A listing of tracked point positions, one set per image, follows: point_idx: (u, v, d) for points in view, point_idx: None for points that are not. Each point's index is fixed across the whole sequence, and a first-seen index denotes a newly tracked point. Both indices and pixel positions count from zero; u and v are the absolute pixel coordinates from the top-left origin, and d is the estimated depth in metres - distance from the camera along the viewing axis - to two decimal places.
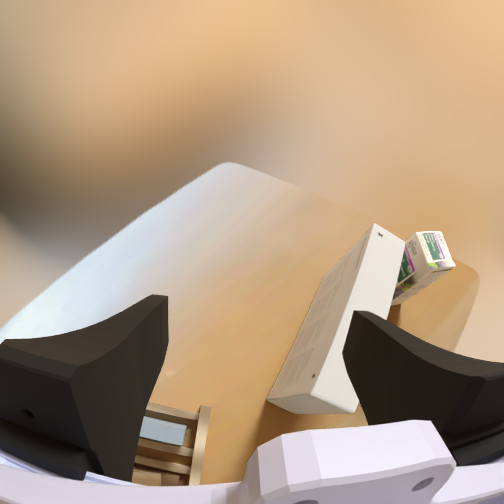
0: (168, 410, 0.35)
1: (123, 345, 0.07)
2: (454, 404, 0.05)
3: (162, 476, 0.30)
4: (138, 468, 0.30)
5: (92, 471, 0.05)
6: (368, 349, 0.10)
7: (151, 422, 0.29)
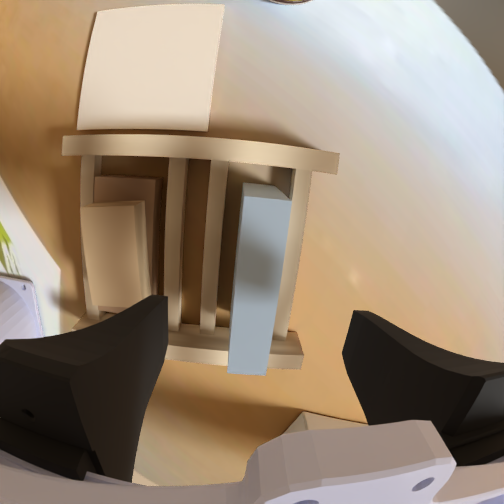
0: (287, 290, 0.21)
1: (123, 345, 0.07)
2: (454, 404, 0.05)
3: None
4: (153, 242, 0.19)
5: (92, 471, 0.05)
6: (368, 349, 0.10)
7: (272, 315, 0.15)
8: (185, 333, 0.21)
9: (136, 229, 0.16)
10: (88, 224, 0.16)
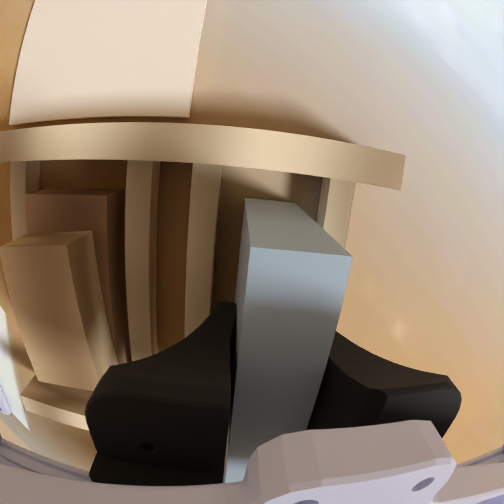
0: None
1: None
2: (356, 418, 0.05)
3: None
4: (113, 291, 0.12)
5: None
6: None
7: None
8: None
9: (74, 282, 0.09)
10: (11, 272, 0.09)
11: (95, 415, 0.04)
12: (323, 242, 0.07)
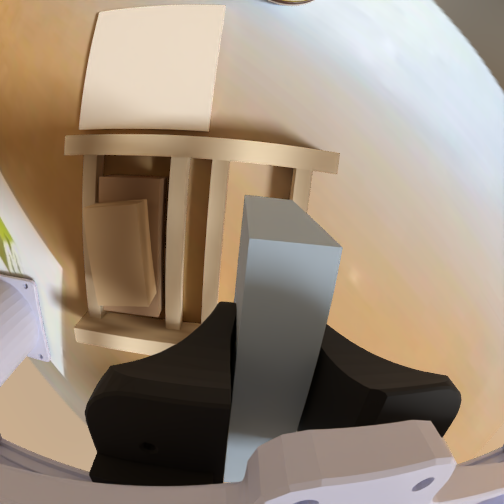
0: None
1: None
2: (355, 418, 0.05)
3: None
4: (158, 241, 0.19)
5: None
6: None
7: (294, 423, 0.08)
8: (186, 331, 0.21)
9: (139, 228, 0.17)
10: (91, 224, 0.16)
11: (96, 415, 0.04)
12: (316, 235, 0.07)
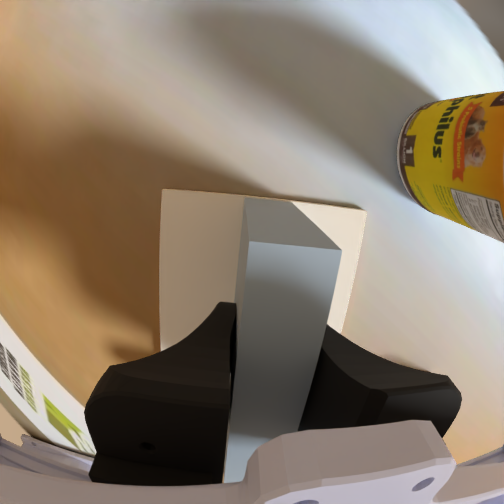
0: None
1: None
2: (356, 418, 0.05)
3: None
4: None
5: None
6: None
7: (294, 425, 0.08)
8: None
9: None
10: None
11: (95, 416, 0.04)
12: (316, 238, 0.07)
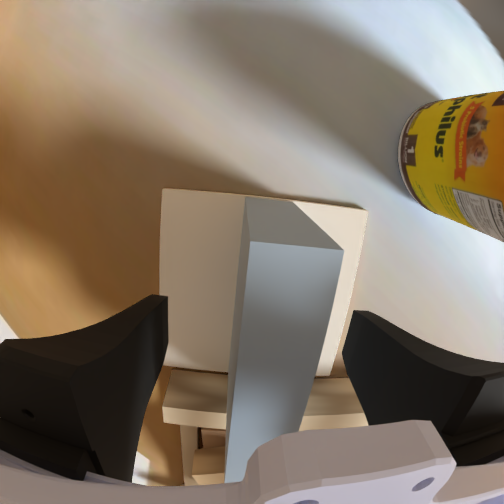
0: None
1: (123, 345, 0.07)
2: (454, 404, 0.05)
3: None
4: None
5: (92, 471, 0.05)
6: (368, 349, 0.10)
7: (295, 426, 0.08)
8: None
9: None
10: (206, 483, 0.14)
11: None
12: (318, 237, 0.07)
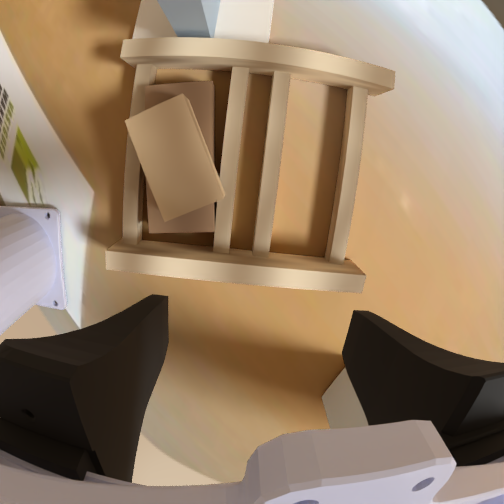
0: (346, 206, 0.19)
1: (123, 345, 0.07)
2: (454, 404, 0.05)
3: None
4: (212, 145, 0.18)
5: (92, 471, 0.05)
6: (368, 349, 0.10)
7: None
8: (237, 255, 0.20)
9: (191, 116, 0.15)
10: (138, 132, 0.15)
11: None
12: None
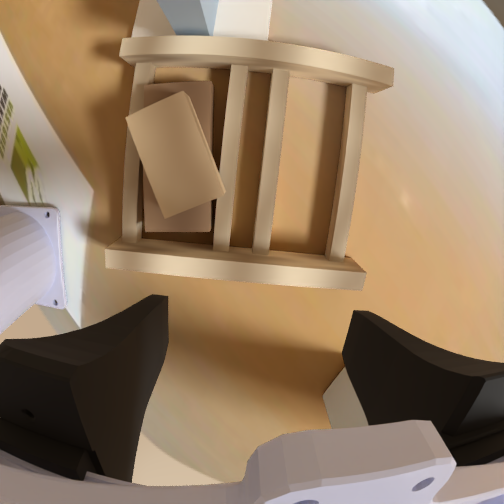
0: (346, 203, 0.19)
1: (123, 345, 0.07)
2: (454, 404, 0.05)
3: None
4: (210, 145, 0.18)
5: (92, 471, 0.05)
6: (368, 349, 0.10)
7: None
8: (237, 253, 0.20)
9: (192, 113, 0.15)
10: (138, 129, 0.15)
11: None
12: None
